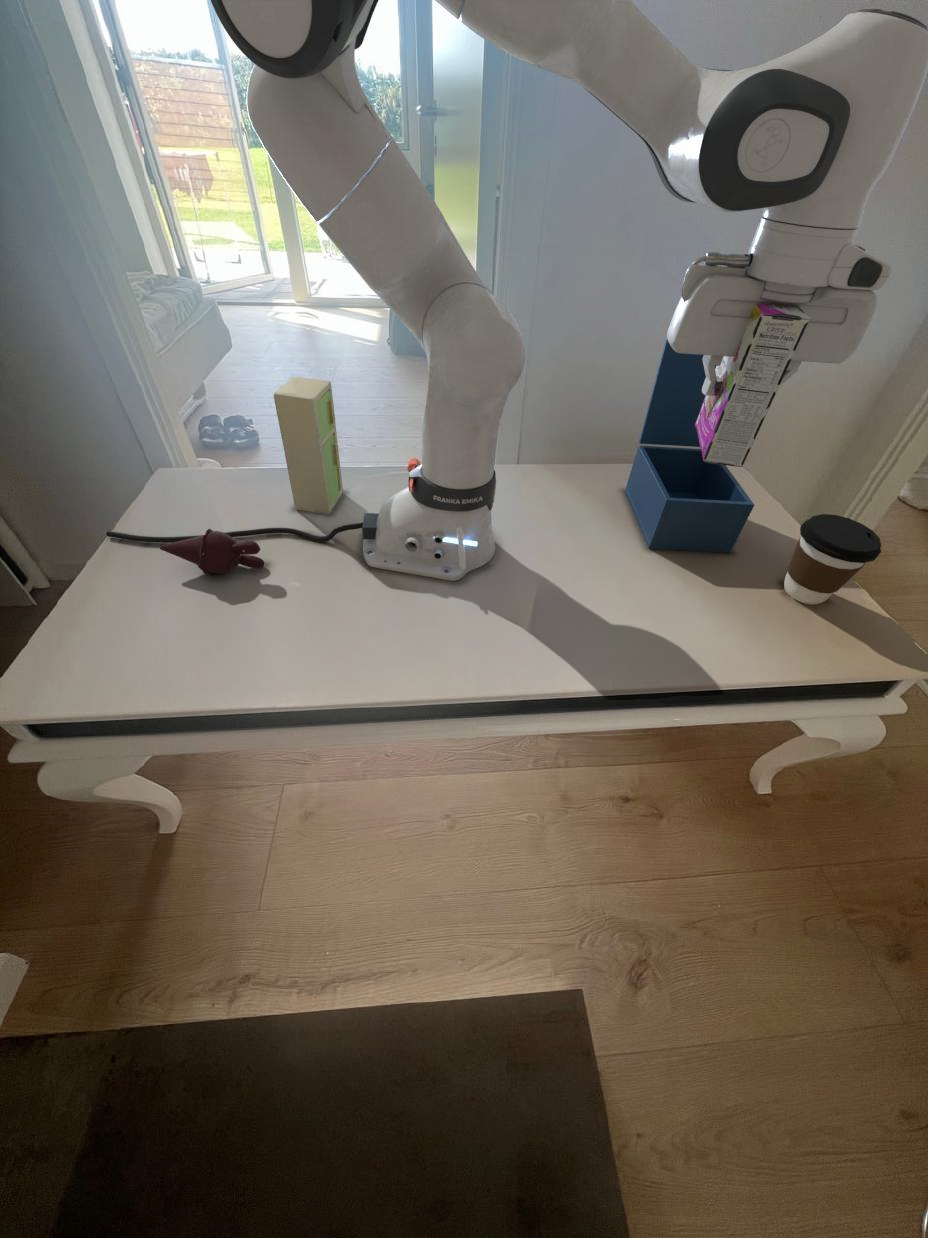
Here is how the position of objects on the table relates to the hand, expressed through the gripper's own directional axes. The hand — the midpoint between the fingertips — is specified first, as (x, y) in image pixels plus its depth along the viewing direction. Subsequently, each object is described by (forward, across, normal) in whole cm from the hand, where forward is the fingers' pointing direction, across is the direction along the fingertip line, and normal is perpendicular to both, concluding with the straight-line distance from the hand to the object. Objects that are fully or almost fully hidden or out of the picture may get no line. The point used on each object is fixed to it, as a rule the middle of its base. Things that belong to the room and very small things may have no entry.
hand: (736, 395), depth 62 cm
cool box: (+31, +9, +22) cm, 39 cm away
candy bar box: (+7, 0, 0) cm, 7 cm away
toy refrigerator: (+31, -58, +21) cm, 69 cm away
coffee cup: (+31, +25, +2) cm, 40 cm away
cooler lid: (+11, +9, +32) cm, 35 cm away
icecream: (+31, -70, 0) cm, 77 cm away
